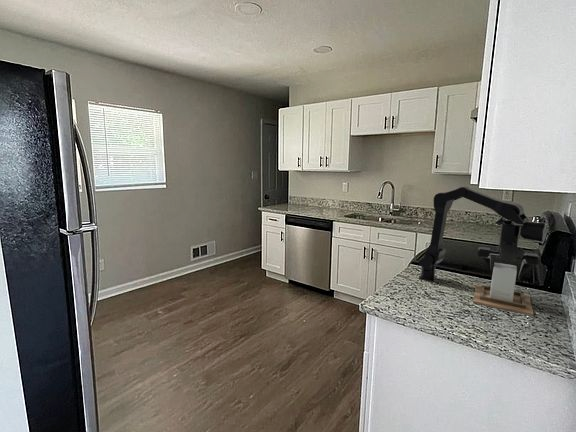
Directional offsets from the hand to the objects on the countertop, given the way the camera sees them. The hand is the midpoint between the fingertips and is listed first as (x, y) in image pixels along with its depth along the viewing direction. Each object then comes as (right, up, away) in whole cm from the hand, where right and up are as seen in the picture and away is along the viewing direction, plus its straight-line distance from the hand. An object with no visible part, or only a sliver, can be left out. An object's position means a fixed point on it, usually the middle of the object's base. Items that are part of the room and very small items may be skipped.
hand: (504, 276), depth 119 cm
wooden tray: (0, -9, +1) cm, 9 cm away
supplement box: (0, -8, +1) cm, 9 cm away
